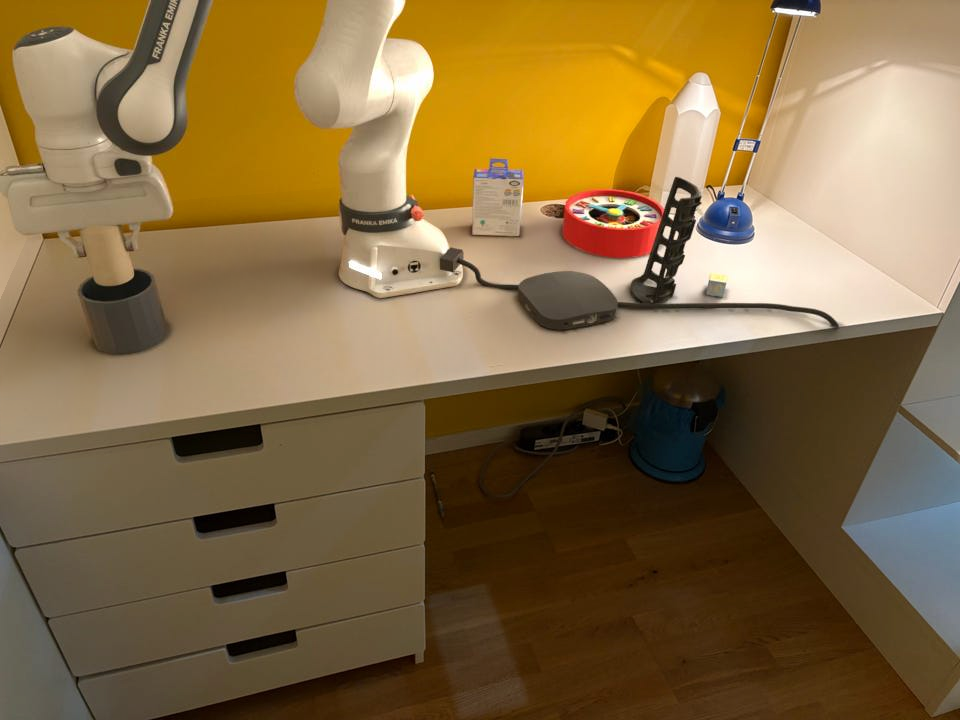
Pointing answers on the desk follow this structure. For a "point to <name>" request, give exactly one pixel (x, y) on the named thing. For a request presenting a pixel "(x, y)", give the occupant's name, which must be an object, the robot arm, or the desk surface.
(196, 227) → the desk surface
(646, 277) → the holder
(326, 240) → the desk surface
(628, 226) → the toy clock
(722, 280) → the alphabet block
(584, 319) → the media streaming box
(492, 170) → the ink cartridge box
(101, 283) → the candle
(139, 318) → the pen holder
